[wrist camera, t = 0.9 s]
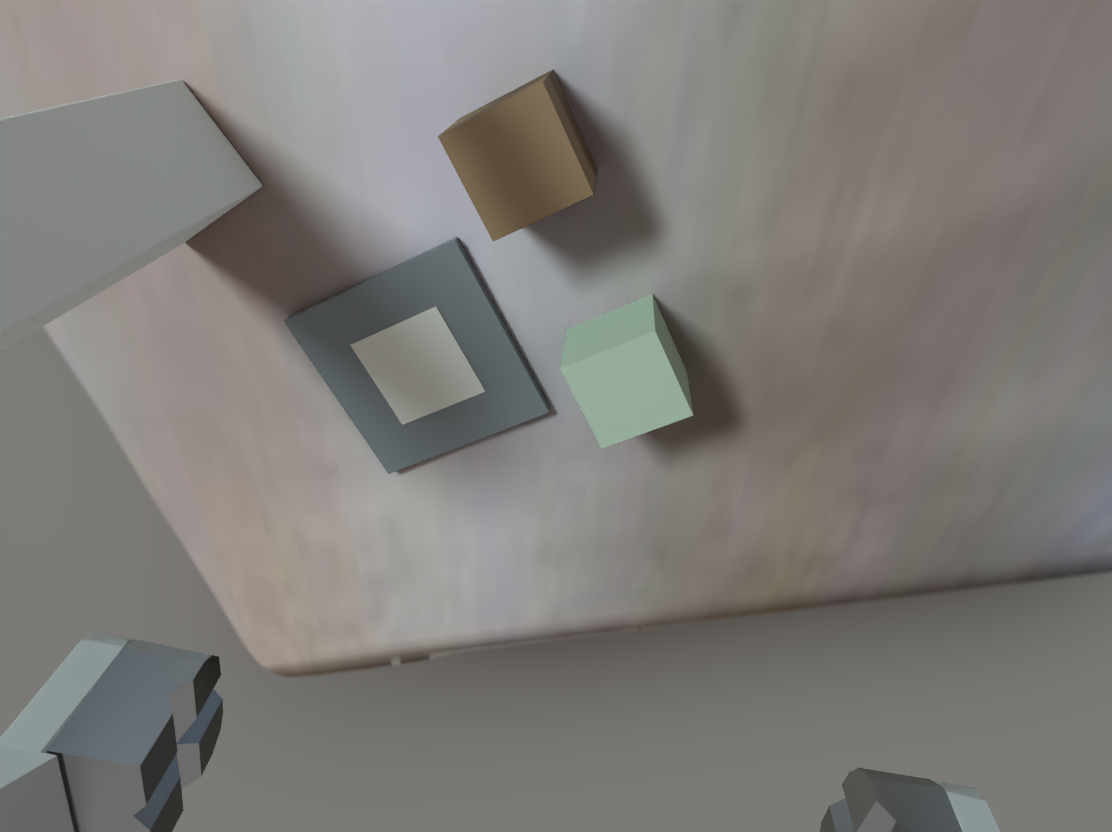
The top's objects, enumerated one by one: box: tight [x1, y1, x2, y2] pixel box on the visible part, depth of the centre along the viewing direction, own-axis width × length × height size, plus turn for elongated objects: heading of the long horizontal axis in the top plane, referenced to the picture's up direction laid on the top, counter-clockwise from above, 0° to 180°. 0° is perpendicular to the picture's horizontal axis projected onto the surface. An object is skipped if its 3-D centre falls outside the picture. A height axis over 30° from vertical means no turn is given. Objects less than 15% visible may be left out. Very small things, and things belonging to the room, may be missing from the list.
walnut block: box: [438, 70, 598, 241], centre depth 35 cm, size 5×5×5 cm
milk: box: [0, 80, 262, 351], centre depth 29 cm, size 6×6×22 cm
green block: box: [560, 294, 693, 448], centre depth 40 cm, size 5×5×5 cm
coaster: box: [284, 237, 550, 474], centre depth 43 cm, size 11×11×1 cm
